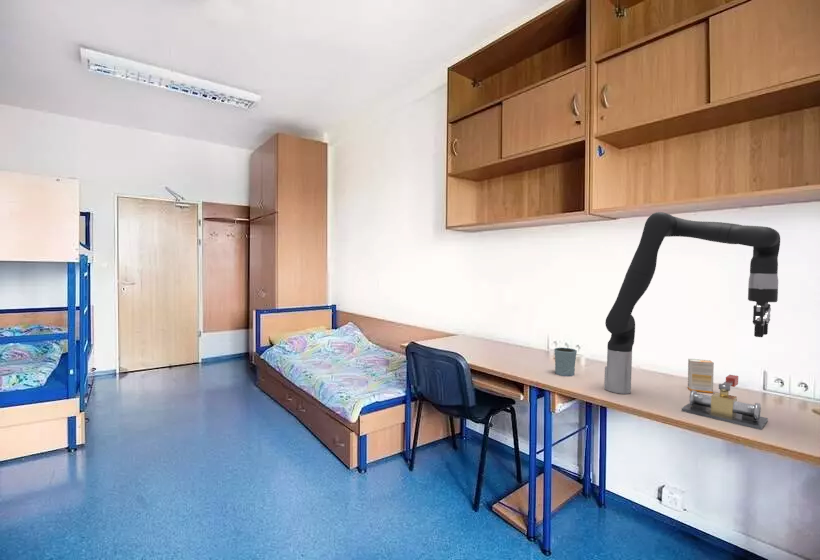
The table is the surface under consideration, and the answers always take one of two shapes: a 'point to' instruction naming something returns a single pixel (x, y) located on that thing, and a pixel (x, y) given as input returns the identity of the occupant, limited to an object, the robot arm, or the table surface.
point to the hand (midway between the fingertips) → (760, 335)
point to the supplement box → (700, 375)
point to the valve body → (725, 409)
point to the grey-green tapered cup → (565, 361)
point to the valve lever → (729, 383)
